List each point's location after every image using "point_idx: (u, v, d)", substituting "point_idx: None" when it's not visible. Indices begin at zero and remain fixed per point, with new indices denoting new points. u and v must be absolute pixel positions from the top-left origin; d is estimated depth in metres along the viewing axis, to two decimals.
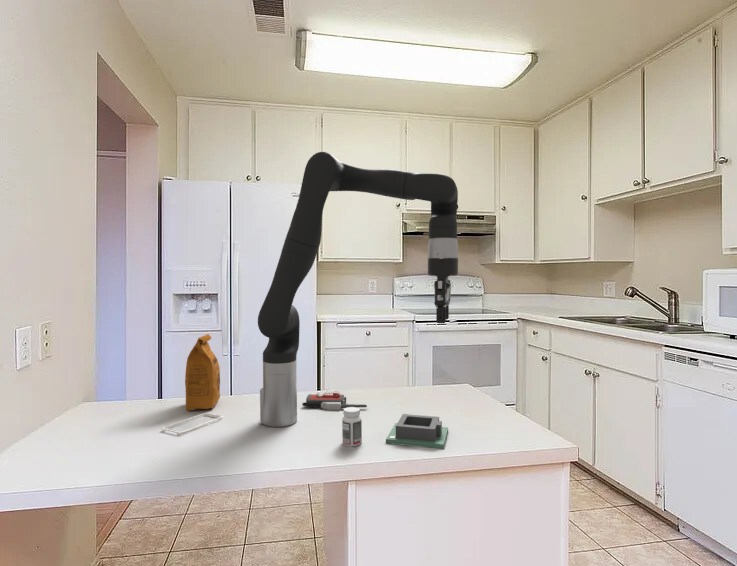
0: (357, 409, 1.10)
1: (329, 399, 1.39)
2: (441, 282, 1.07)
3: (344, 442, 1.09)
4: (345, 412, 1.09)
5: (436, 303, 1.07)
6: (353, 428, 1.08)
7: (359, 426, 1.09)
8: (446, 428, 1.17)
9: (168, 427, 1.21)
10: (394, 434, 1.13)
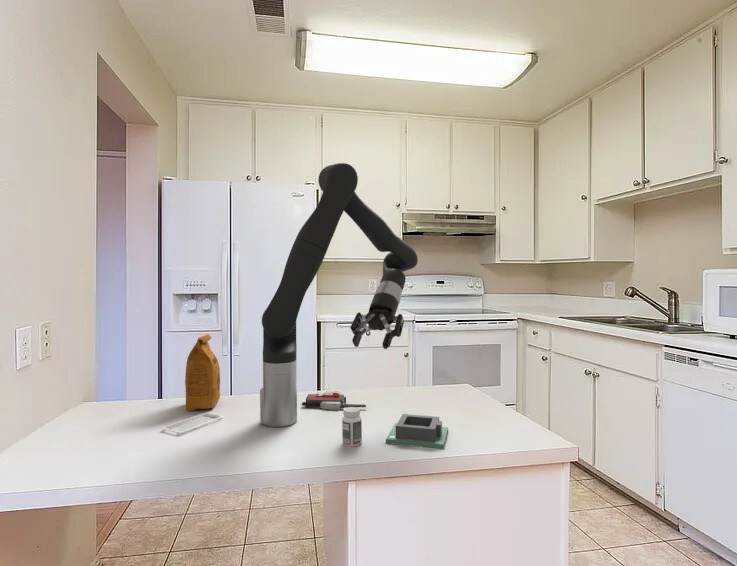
0: (357, 409, 1.10)
1: (329, 399, 1.39)
2: None
3: (344, 442, 1.09)
4: (345, 412, 1.09)
5: (398, 330, 1.19)
6: (353, 428, 1.08)
7: (359, 426, 1.09)
8: (446, 428, 1.17)
9: (168, 427, 1.21)
10: (394, 434, 1.13)
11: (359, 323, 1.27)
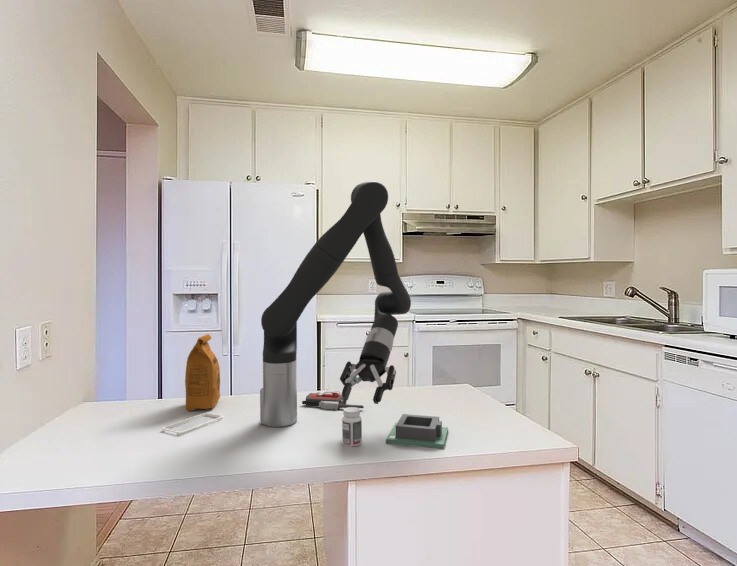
0: (357, 409, 1.10)
1: (328, 398, 1.40)
2: (395, 370, 1.17)
3: (344, 442, 1.09)
4: (345, 412, 1.09)
5: (389, 384, 1.13)
6: (353, 428, 1.08)
7: (359, 426, 1.09)
8: (446, 428, 1.17)
9: (168, 427, 1.21)
10: (394, 434, 1.13)
11: (349, 373, 1.21)
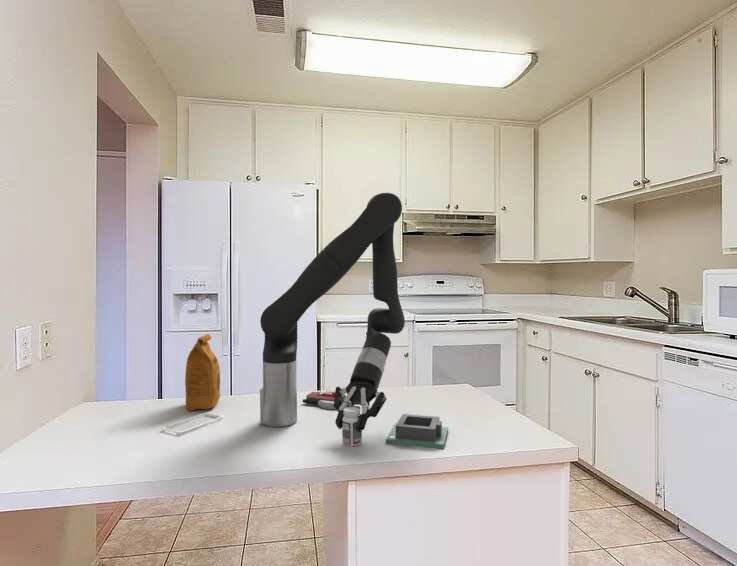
0: (357, 409, 1.10)
1: (327, 398, 1.41)
2: (385, 397, 1.12)
3: (344, 442, 1.09)
4: (345, 412, 1.09)
5: (374, 411, 1.09)
6: (353, 427, 1.08)
7: None
8: (446, 428, 1.17)
9: (168, 427, 1.21)
10: (394, 434, 1.13)
11: (341, 398, 1.15)
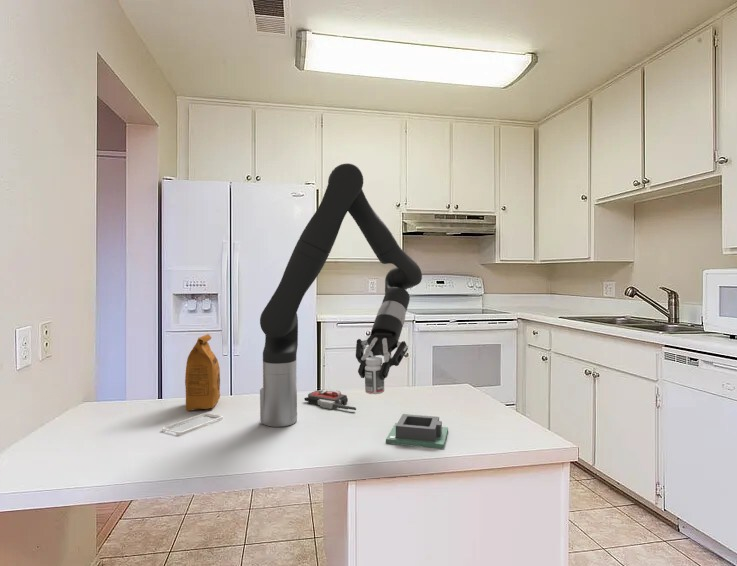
0: (379, 358, 1.11)
1: (326, 397, 1.41)
2: (406, 347, 1.13)
3: (367, 390, 1.10)
4: (367, 361, 1.10)
5: (396, 359, 1.10)
6: (375, 375, 1.09)
7: None
8: (446, 428, 1.17)
9: (168, 427, 1.21)
10: (394, 434, 1.13)
11: (362, 350, 1.16)
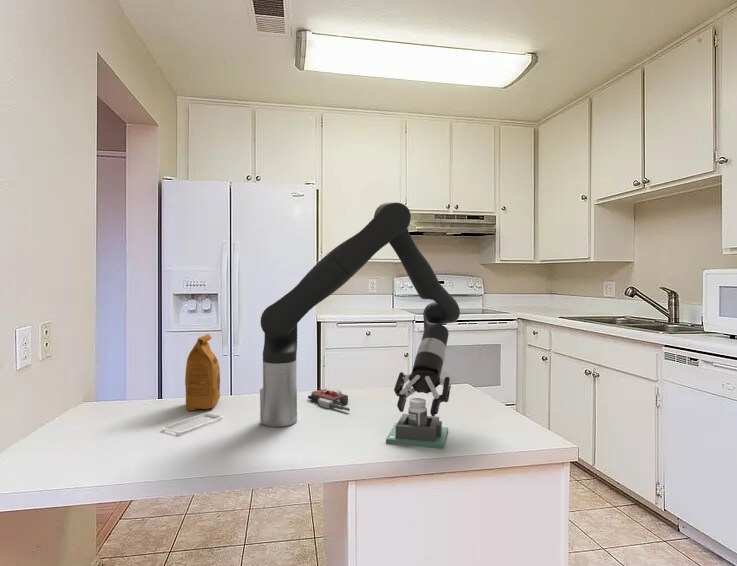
0: (423, 400, 1.14)
1: (326, 396, 1.42)
2: (450, 381, 1.16)
3: None
4: (412, 403, 1.13)
5: (446, 396, 1.12)
6: (420, 417, 1.12)
7: (425, 416, 1.13)
8: (446, 428, 1.17)
9: (168, 427, 1.21)
10: (394, 434, 1.13)
11: (402, 384, 1.20)
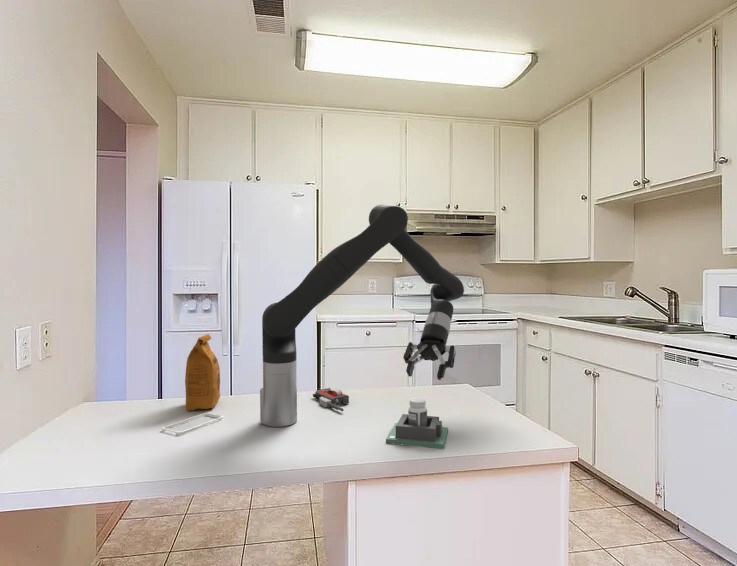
0: (423, 400, 1.14)
1: (327, 395, 1.43)
2: None
3: None
4: (412, 402, 1.13)
5: (451, 362, 1.24)
6: (420, 417, 1.12)
7: (425, 416, 1.13)
8: (446, 428, 1.17)
9: (168, 427, 1.21)
10: (394, 434, 1.13)
11: (411, 353, 1.32)
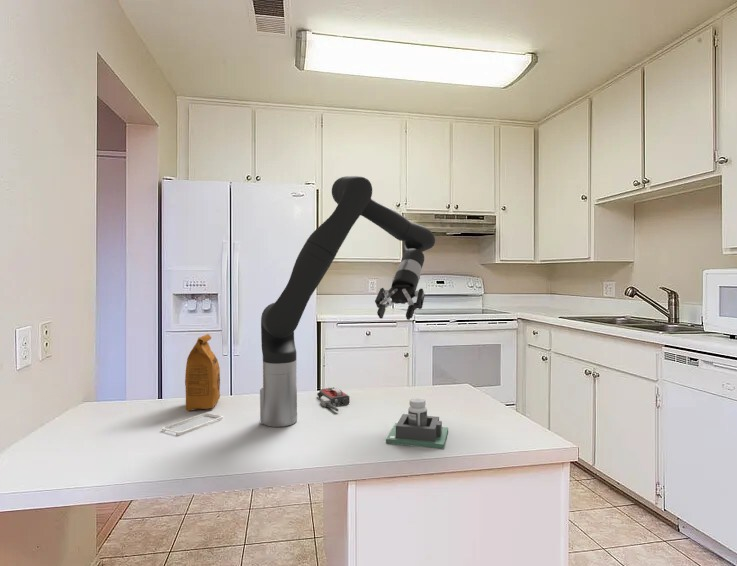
0: (423, 400, 1.14)
1: (328, 395, 1.44)
2: None
3: None
4: (412, 403, 1.13)
5: (420, 303, 1.29)
6: (420, 417, 1.12)
7: (425, 416, 1.13)
8: (446, 428, 1.17)
9: (168, 427, 1.21)
10: (394, 434, 1.13)
11: (382, 297, 1.37)
